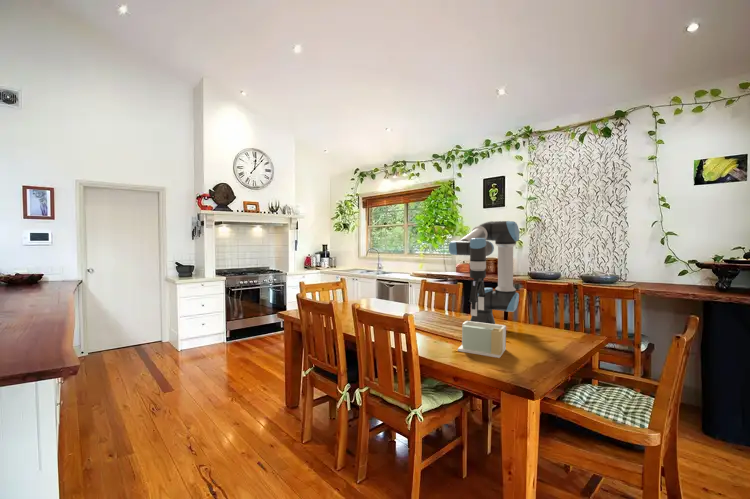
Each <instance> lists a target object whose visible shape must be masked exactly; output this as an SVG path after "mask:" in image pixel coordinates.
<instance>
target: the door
mask: <svg viewBox="0 0 750 499" xmlns="http://www.w3.org/2000/svg"><path fill="white" fill-rule="evenodd" d="M463 348H464V349H470V350H476V351H482V352H489V353H491V354H496V355H500V354H501V353H502V329H496V328H494V329H492V328H484V327H477V326H469V325H464V326H463Z"/></svg>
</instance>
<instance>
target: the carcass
mask: <svg viewBox="0 0 750 499" xmlns="http://www.w3.org/2000/svg"><path fill="white" fill-rule="evenodd" d="M464 325H469V326H477V327H484V328H492V329H494V328H496V329H502V353H501V354H500V355H496V354H491V353H489V352H482V351H476V350H470V349H464V348H463V326H464ZM461 327H462V328H461V333H462V334H461V345H460V346H459V347H458V348H457V352H463V353H469V354H474V355H479V356H480V355H481V356H485V357H490V358H491V357H492V358H496V359H497V358H498V359H500V358H501V356H502V355H503V354H504V353H505V351H507V348H506V346H507V344H506V342H507V340H506V339H507V325H505V324H497V323H495V324H489V323H481V322H473V321H470V320H465V321H464V322H463V323H462V325H461Z"/></svg>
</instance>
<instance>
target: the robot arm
mask: <svg viewBox="0 0 750 499" xmlns="http://www.w3.org/2000/svg"><path fill="white" fill-rule="evenodd" d="M519 240H520V229H519V225H518V224H517V222H515V221H510V220H502V221H501V220H500V221H499V220H497V221H492V220H491V221H486V222H483V223H481V224H479V225H476V226H475V227H473V229H472V231H471V232H469V233H468V234H467V235H466V234H465V236H463V237H462V238H460V239H459V240H452V241H450V242H449V243H448V252H449V254H450V255H452V256H469V262H468V265H469V269H470V270H469V278H471V279H473V280H472V281H470V282H471V285H470V287H471V289H470V294H469V300H468V302H469V303H470V316H471V317H470V320H469V321H473V322H481V323H489V324H496V321H495V317H494V315H493V310H494V311H501V312H507V313H508V312H511V313H513V312H516V311H517V308H518V305H519V301H520V300H519V299H520V294H519V292H516V291H517V289H516V287H514V247H515V246H516V244H517V242H518V241H519ZM491 241H492V242H493V241H494V243H495V246H497V286H496V287H495V290H494V289H493V287H485V282H484V281H485V279H486V277H487V271H486V270H487V257H488V256H490V255H492V254H493V253H494V250H495V246H494V244H493V243H492V242H491Z"/></svg>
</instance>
